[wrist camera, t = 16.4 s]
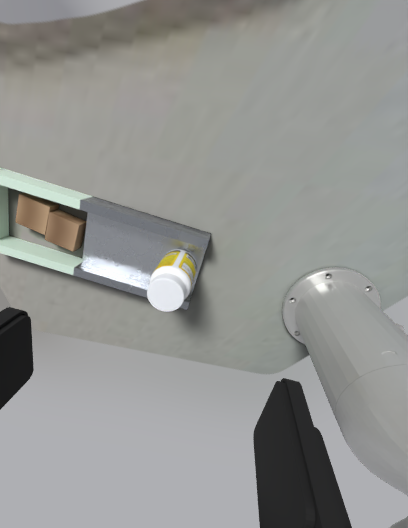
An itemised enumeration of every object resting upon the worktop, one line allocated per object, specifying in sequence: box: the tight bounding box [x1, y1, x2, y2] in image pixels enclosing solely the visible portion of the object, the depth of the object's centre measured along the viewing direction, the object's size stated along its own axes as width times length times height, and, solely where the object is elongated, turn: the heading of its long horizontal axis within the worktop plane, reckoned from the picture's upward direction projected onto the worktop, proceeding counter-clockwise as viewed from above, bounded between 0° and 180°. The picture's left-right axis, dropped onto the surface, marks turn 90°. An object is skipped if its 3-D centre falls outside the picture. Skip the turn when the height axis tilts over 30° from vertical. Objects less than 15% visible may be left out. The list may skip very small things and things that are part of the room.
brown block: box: [45, 210, 87, 252], centre depth 34 cm, size 4×4×2 cm
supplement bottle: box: [147, 249, 197, 312], centre depth 30 cm, size 5×5×8 cm
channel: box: [73, 197, 211, 310], centre depth 33 cm, size 16×10×3 cm, turn 73°
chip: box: [16, 193, 59, 235], centre depth 33 cm, size 4×4×2 cm
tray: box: [0, 168, 93, 275], centre depth 33 cm, size 13×10×3 cm
